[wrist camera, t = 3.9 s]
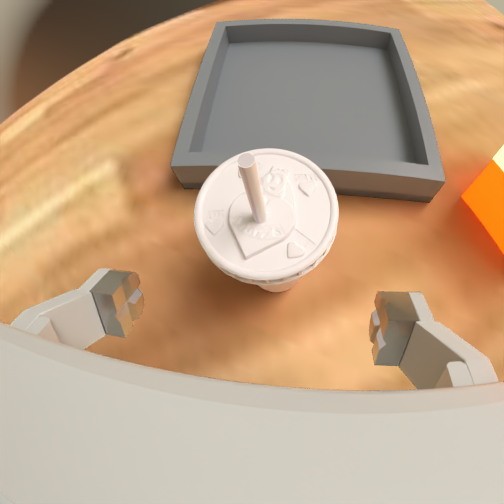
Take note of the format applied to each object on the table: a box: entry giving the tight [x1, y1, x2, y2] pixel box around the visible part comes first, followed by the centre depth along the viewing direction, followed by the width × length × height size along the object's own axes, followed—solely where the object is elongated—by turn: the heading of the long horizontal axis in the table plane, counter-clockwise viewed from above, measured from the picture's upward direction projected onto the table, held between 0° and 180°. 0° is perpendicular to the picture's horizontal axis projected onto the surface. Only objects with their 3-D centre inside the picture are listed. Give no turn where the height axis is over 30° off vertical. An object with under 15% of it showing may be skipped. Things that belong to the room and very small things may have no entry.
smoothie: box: [194, 148, 339, 292], centre depth 16 cm, size 6×6×14 cm
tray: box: [170, 19, 446, 203], centre depth 25 cm, size 20×20×4 cm
